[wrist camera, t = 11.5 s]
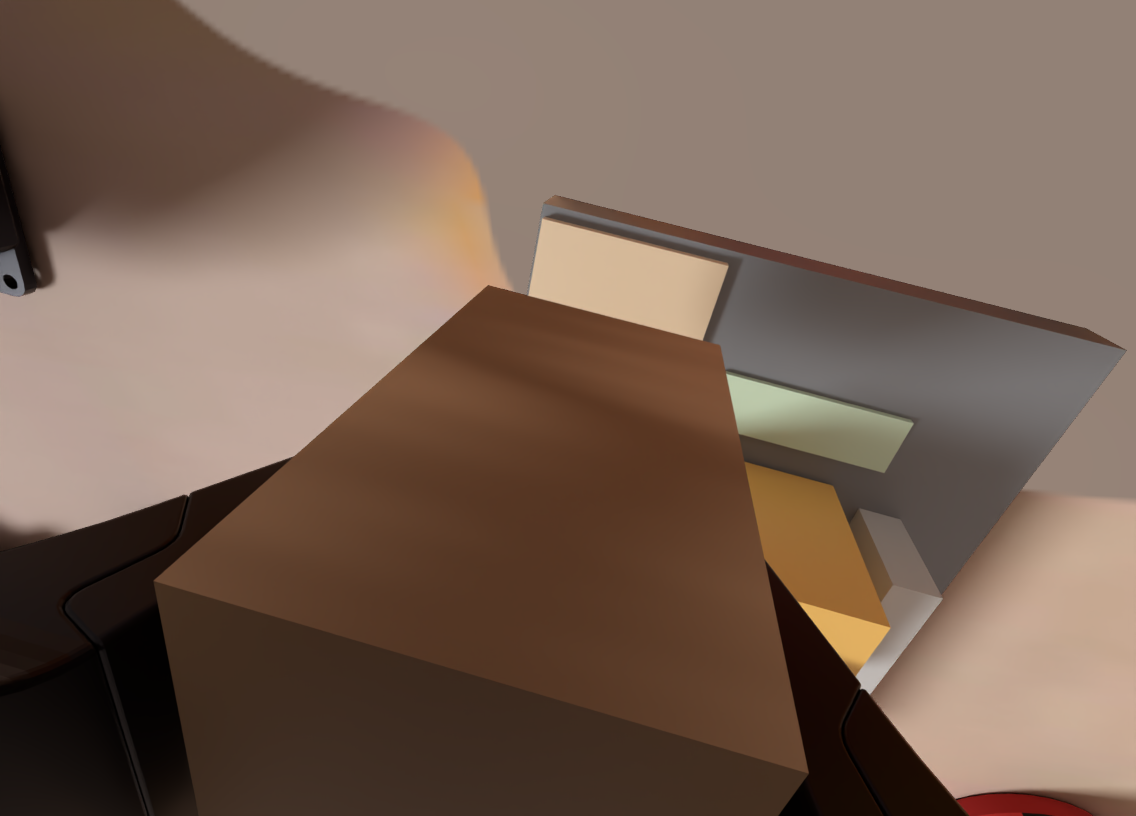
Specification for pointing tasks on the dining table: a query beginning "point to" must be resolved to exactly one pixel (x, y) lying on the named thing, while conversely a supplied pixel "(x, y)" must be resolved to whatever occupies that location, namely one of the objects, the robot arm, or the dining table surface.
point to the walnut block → (495, 593)
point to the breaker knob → (818, 560)
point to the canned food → (1018, 806)
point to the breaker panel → (848, 384)
